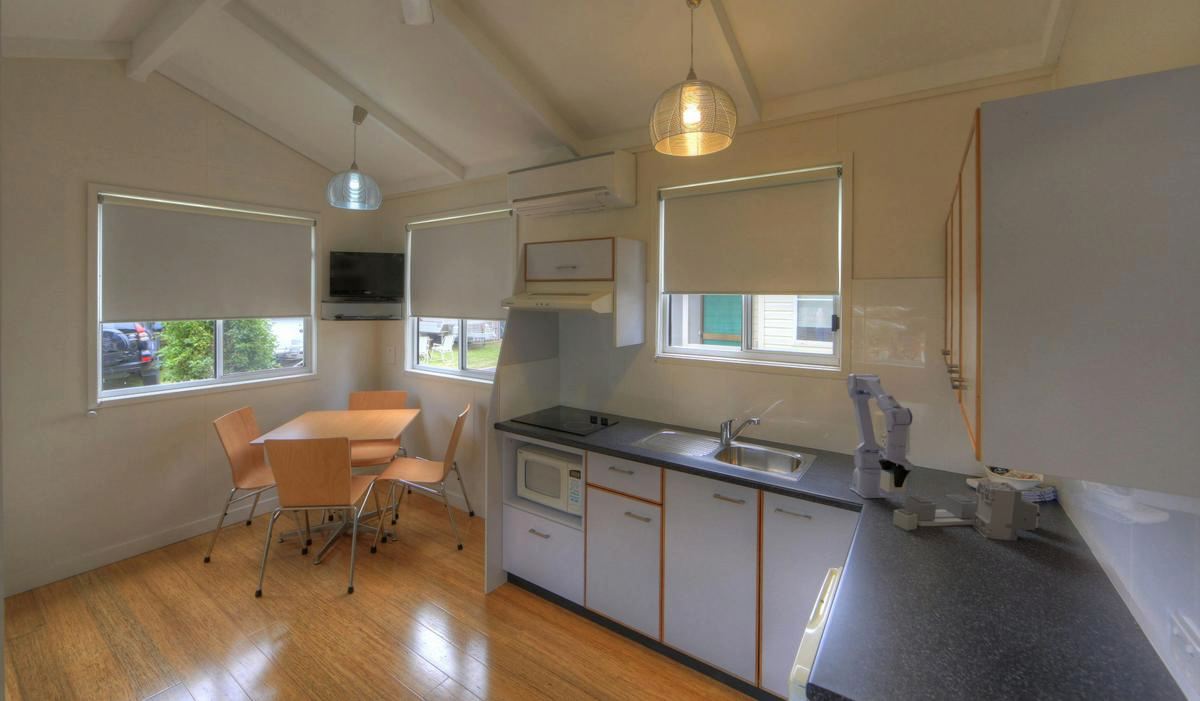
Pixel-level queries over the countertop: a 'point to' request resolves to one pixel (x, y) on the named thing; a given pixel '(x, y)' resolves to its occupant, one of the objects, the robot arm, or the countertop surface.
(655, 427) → the countertop surface
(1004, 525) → the circuit breaker
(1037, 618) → the countertop surface
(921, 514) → the rail board
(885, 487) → the block
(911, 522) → the contactor
